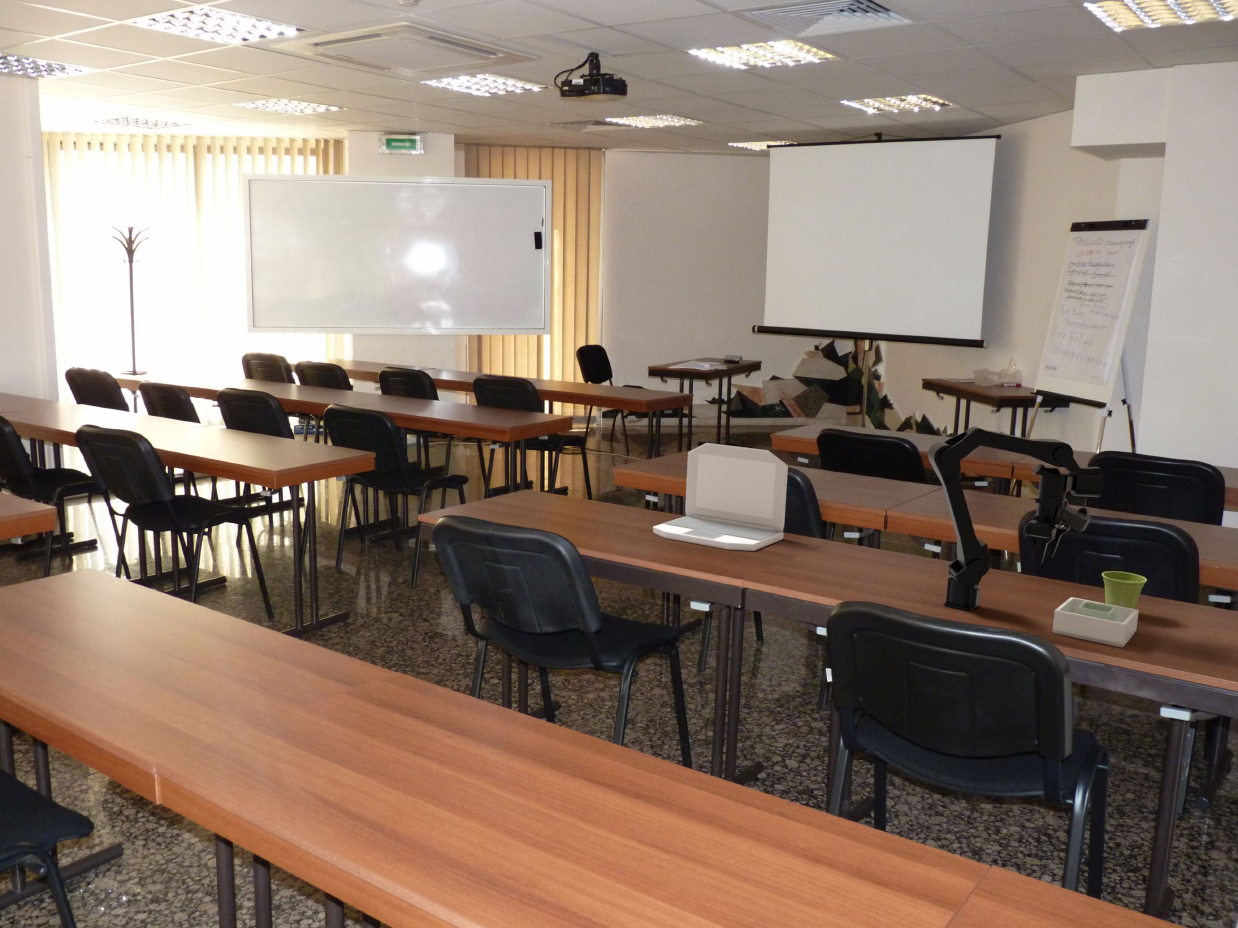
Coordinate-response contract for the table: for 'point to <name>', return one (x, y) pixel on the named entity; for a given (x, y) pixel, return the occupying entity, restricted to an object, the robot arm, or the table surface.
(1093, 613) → the small crate
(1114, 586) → the plant pot
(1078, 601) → the big crate
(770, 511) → the laptop
